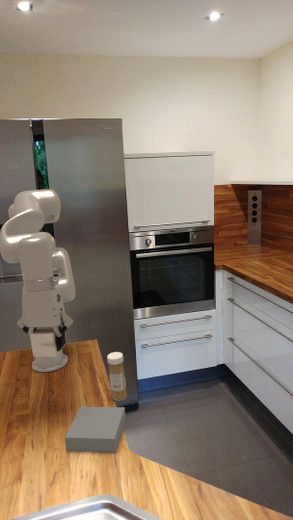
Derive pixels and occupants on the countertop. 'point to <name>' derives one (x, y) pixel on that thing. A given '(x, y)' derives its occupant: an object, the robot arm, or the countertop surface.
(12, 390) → the countertop surface
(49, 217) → the robot arm
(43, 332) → the cream cube
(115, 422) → the slate block
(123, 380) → the sprinkles bottle
